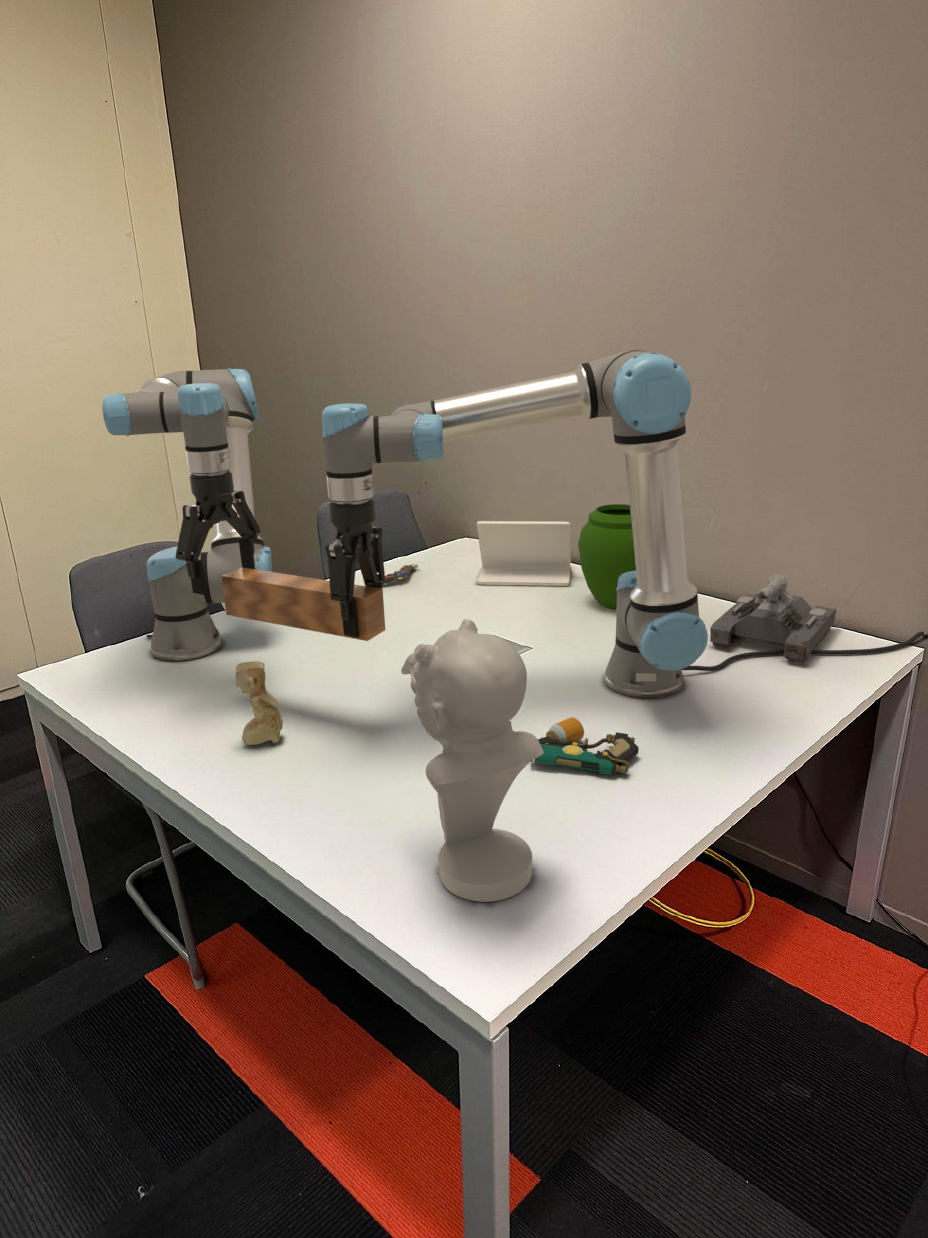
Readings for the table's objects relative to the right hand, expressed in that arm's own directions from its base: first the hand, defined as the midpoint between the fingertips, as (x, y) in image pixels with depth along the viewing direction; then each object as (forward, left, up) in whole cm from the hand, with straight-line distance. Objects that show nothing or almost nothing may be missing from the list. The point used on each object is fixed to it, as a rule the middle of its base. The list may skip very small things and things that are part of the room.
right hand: (362, 629), depth 150 cm
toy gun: (-23, -85, -19) cm, 91 cm away
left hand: (+22, -23, +4) cm, 32 cm away
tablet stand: (-58, -74, -19) cm, 97 cm away
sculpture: (+19, -1, -19) cm, 27 cm away
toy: (-93, -10, -19) cm, 96 cm away
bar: (+9, -9, -1) cm, 13 cm away
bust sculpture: (-5, +44, -19) cm, 49 cm away
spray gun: (-32, +24, -19) cm, 44 cm away
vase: (-71, -43, -19) cm, 85 cm away
